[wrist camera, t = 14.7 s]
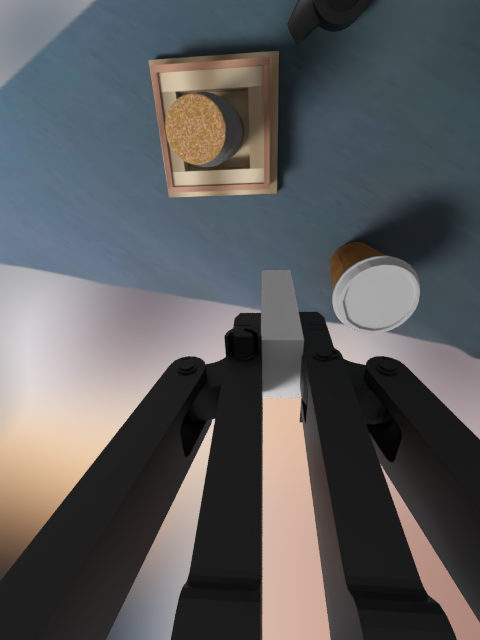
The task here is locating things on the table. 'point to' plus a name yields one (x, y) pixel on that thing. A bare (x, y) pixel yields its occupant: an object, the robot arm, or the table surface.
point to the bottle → (203, 129)
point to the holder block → (250, 103)
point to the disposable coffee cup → (372, 288)
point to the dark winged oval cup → (324, 15)
